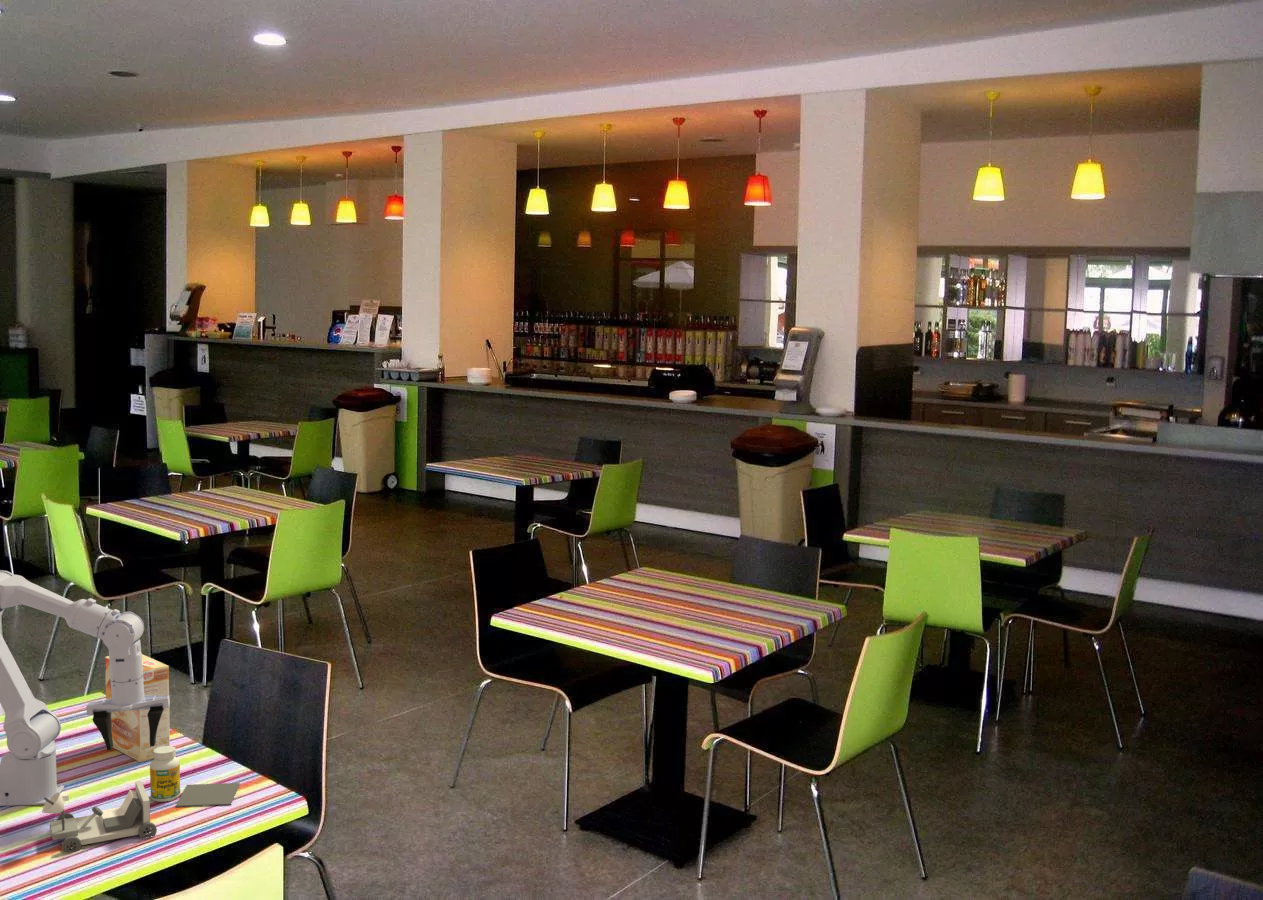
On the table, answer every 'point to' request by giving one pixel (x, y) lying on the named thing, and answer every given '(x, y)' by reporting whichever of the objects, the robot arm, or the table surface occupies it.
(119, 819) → the toy car
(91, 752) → the table surface
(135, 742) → the coffeecake box
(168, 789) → the supplement bottle
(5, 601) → the robot arm
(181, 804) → the mat
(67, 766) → the table surface
